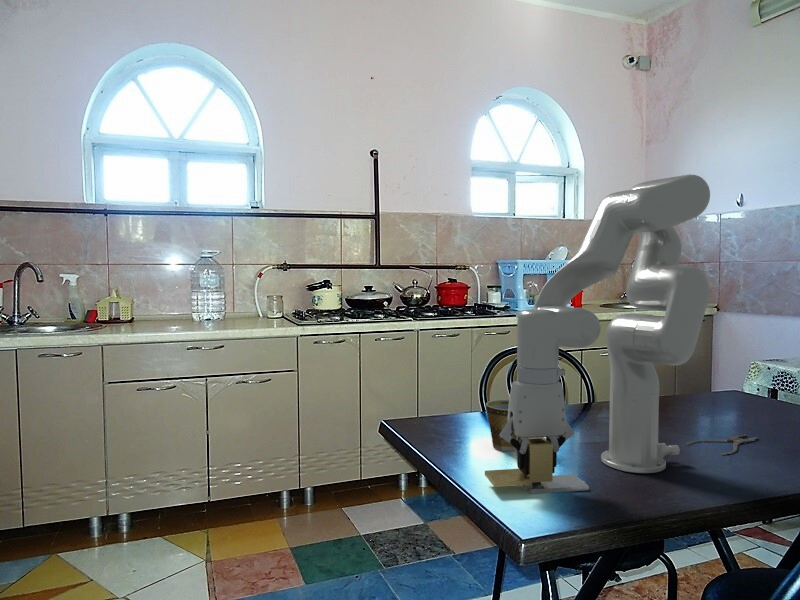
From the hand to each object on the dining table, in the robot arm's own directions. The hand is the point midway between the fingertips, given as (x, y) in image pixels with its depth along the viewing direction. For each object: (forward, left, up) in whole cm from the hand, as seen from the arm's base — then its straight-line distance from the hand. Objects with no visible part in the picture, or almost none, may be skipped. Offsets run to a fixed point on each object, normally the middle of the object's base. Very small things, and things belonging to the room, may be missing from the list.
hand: (536, 470), depth 106 cm
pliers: (-53, -19, -4) cm, 57 cm away
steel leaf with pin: (-3, 0, -3) cm, 5 cm away
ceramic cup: (-3, -25, -3) cm, 25 cm away
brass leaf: (+4, 0, -1) cm, 4 cm away
